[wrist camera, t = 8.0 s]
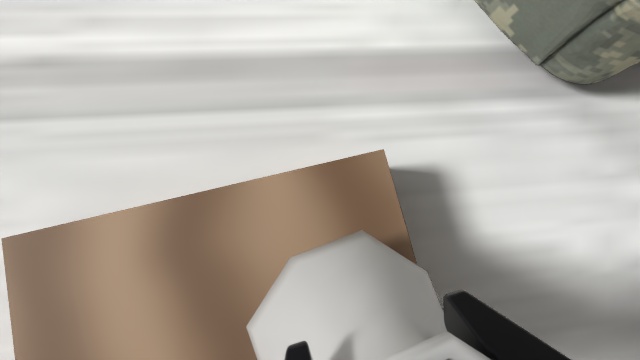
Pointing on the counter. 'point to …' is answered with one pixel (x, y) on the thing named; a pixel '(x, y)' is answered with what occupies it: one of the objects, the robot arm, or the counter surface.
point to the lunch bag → (572, 34)
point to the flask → (354, 307)
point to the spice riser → (187, 264)
